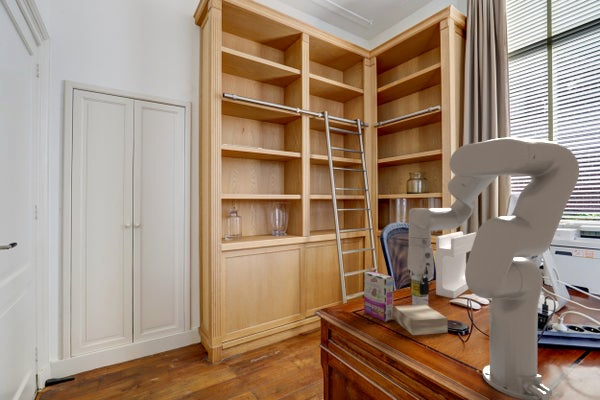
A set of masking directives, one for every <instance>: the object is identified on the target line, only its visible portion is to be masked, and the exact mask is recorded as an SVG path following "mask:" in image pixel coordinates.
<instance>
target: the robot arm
mask: <svg viewBox="0 0 600 400" xmlns="http://www.w3.org/2000/svg"><path fill="white" fill-rule="evenodd" d="M449 170H450V171H451V172H452V174H454V176H453V177H452V178H451V179H450V181H449V182H448V184H447V190H448V192H449V194H450V195H451V196H452V197H453V198H454V199H456V200H455V201H454V202H453V203H452V205H450V207H431V208H430V207H429V208H428V207H427V208H426V207H425V208H423V207H414V208H413V207H412V208H410V209H409V211H408V250H407V265H406V268H407V271H408V273H409V280H410V281H409V283H410V284H409V287H410V290H411V277H412V276H413V275H414V274H413V272H414V271H415V273H417V274H419V275H420V280H421V283H420V295H428V296H429V295H430V294H429V293H430V283H431V281H432V280H433V279H434V278H435V277H434V274H435V273H434V272H435V266H434V265H435V264H434V263H435V262H434V253H433V248H432V232H433V231H434V232H435V231H437V232H438V231H452V230H455V229H457V228H459V227H460V226H462V225H463V224H464V223H465V222H466V221H468V219H470V217H471V216H472V214H473V212H474V209H475V204H476V202H475V200H476V198H477V197H479V196H480V194H482V193H483V192H484V190H485V189H486V188H488V187H489V185H490V184H492V182H493V181H495V180H496V179H497V178H498V177H499V176H507V177H508V176H509V177H510V176H513V177H514V176H515V177H530V178H531V180H530V181H529V183H528V184H527V185H526V186H525V187H524V188H523V190H522V191H521V192H520V194H519V196H518V198H517V201H516V203H515V207H514V209H513V211H512V213H511V214H510V215H509V216H508V215H506V216H503V215H502V216H495V217H491V218H489V219H487V220H486V221H485V222H483V223H482V224H481V225H480V227H479V228H478V230H477V232H476V233H477V234H476V237H475V240H474V243H473V246H472V249H471V251H469V257H468V259H467V261H466V269H465V280H466V283H467V286H468V288H469V289H468V290H470V292H471V293H472V294H473V295H475V296H477V297H479V298H482V299H489V300H490V299H491V301H490V306H489V307H490V308H489V364H488V365H486V366H484V367H483V368H482V377H483V379H484V380H485V382H486V383H488V385H490V387H492V388H493V389H495V390H497V391H499V392H501V393H503V394H505V395H507V396H510V397H513V398H517V399H520V400H550V396H552V395H553V390H551V389H550V388H549V387H547V386H545V385H544V384H543V379H542V378H543V376H542V375H540V374H539V373H538V324H539V323H538V321H539V319H538V317H539V316H538V314H539V303H540V298H541V294H542V291H543V290H542V289H543V284H544V283H543V282H544V281H543V275H542V272H541V269H540V268H539V266H538V265H537V264H536V263H535V262H534V261H532V260H531V259H529V258H530V257H531V258H532V257H536V256H541V255H543V254H544V253H546V252H547V251H548V249H549V248H550V246H551V244H552V242H553V239H554V236H555V234H556V232H557V230H558V228H559V225H560V222H561V220H562V218H563V215H564V212H565V210H566V207H567V204H568V202H569V199H570V198H571V196H572V194H573V192H574V190H575V188H576V185H577V184H578V183H577V182H578V180H579V177H580V164H579V161H578V159H577V158H576V156H575V154H574V153H573V152H572V151H571V150H570V149H569V148H568V147H566V146H564V145H562V144H560V143H558V142H555V141H550V140H546V139H545V140H544V139H537V138H536V139H534V138H522V137H521V138H520V137H500V138H495V139H489V140H485V141H479V142H474V143H469V144H464V145H462V146H460V147H458V148H457V149H456V150H455V151H454V152H453V153H452V155H451V156H450V159H449ZM424 273H425V274H424ZM423 276H426V277H425V278H423Z"/></svg>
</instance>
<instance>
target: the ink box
mask: <svg viewBox="0 0 600 400" xmlns="http://www.w3.org/2000/svg"><path fill="white" fill-rule="evenodd" d="M411 298H412V299H411V301H412V302H411V305H427V306H429V294H428V295H427V298H425V299H418V298H414V297H412V296H411Z"/></svg>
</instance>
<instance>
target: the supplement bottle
mask: <svg viewBox="0 0 600 400" xmlns="http://www.w3.org/2000/svg"><path fill="white" fill-rule="evenodd" d="M413 274H414V275H413V276H412V277H411V289H410V291H411V293H410V295H411V298H412V297H414V298H418V299H425V298H427V295H420V283H421V280H420V275H419V274H417V273H415V271H414V272H413ZM424 274H426V273H424ZM425 277H426V276H423V278H425Z"/></svg>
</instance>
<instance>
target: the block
mask: <svg viewBox="0 0 600 400" xmlns="http://www.w3.org/2000/svg"><path fill="white" fill-rule="evenodd" d="M476 234H477V232H471V233H467V234H464V232H463V231H457V232H452V233H447V234H442V235H438V236H436V237H435V248H436V249H435V253H436V254H435V257H436V258H435V294H436V295H438V296H441V297H445V298H451V299H455V298H457V297H459V296H460V295H462V294H463V293H464V292H467V290H468V291H469V290H470V289H469V288H468V286H467V283H466V280H465V269H466V265H467V253H470V252H471V249H472V246H473V243H474V240H475V237H476Z"/></svg>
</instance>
